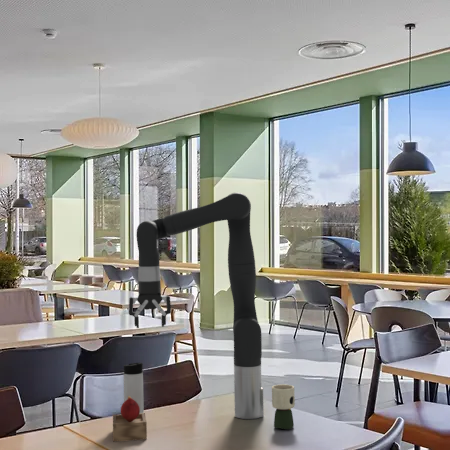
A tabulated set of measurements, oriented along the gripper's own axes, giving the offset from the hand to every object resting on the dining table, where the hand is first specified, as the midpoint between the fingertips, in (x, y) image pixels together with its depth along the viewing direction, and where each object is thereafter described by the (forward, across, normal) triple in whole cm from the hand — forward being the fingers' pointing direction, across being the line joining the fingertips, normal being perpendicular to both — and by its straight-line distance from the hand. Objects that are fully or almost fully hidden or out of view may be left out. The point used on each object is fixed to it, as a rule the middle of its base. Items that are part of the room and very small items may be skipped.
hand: (150, 327), depth 221 cm
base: (+30, +8, +20) cm, 37 cm away
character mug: (+30, -40, +24) cm, 56 cm away
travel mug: (+30, +6, +8) cm, 32 cm away
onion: (+26, +8, +20) cm, 34 cm away
